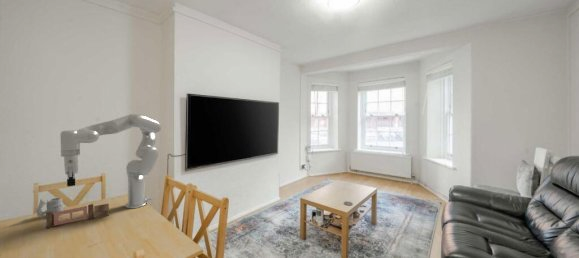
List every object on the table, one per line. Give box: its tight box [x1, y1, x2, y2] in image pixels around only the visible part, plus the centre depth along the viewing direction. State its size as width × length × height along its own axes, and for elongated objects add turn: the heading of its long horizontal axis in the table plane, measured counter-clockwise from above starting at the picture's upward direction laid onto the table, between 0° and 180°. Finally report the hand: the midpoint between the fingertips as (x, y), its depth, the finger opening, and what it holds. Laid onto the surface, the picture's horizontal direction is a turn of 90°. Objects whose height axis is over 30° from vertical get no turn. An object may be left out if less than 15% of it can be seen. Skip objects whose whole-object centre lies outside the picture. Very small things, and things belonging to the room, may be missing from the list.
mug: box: [35, 197, 64, 218], centre depth 135 cm, size 8×12×12 cm, turn 162°
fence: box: [45, 203, 110, 230], centre depth 131 cm, size 26×4×8 cm, turn 133°
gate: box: [53, 205, 88, 227], centre depth 129 cm, size 14×2×7 cm, turn 132°
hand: (71, 185), depth 124 cm, fingers closed
